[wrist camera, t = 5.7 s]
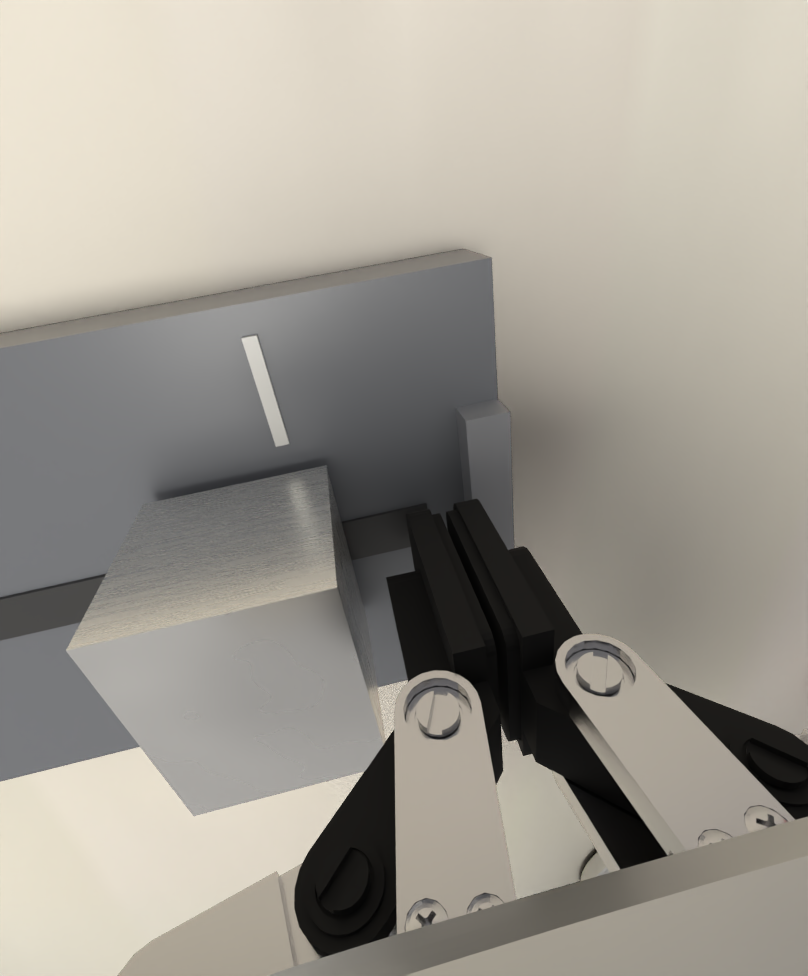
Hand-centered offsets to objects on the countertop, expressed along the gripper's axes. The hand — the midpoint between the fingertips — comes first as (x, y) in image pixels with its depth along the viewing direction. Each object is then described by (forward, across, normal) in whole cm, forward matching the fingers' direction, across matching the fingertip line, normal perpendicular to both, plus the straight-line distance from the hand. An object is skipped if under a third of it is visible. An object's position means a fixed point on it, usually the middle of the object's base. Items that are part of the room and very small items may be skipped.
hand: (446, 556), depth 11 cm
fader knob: (+1, +4, 0) cm, 4 cm away
